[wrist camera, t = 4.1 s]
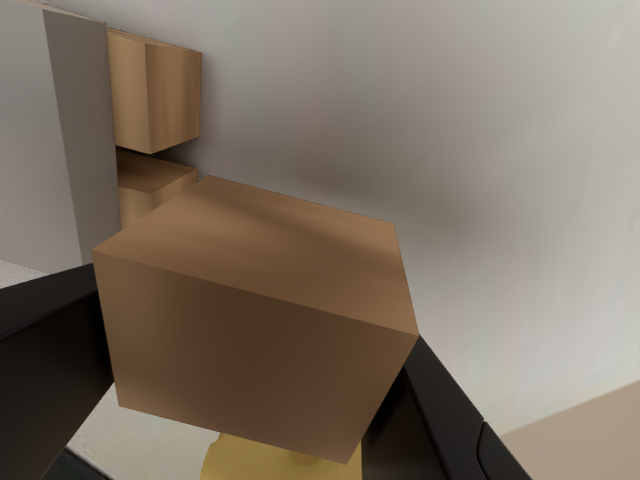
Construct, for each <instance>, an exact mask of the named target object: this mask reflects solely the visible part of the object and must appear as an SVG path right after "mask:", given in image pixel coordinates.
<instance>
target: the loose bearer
mask: <svg viewBox="0 0 640 480" xmlns="http://www.w3.org/2000/svg"><path fill="white" fill-rule="evenodd" d="M91 253H92V259H93V264H94V270H95V276H96V281H97V287H98V292H99V298H100V303H101V309H102V315H103V320H104V326H105V331H106V337H107V343H108V348H109V354H110V359H111V365H112V370H113V376H114V382H115V387H116V393H117V398H118V404H119V406H120V407H124V408H128V409H132V410H136V411H140V412H144V413H147V414H151V415H155V416H159V417H163V418H167V419H171V420H174V421H178V422H182V423H186V424H190V425H194V426H198V427H202V428H205V429H209V430H213V431H217V432H221V433H225V434H229V435H232V436H236V437H240V438H244V439H248V440H252V441H256V442H260V443H263V444H267V445H271V446H275V447H279V448H283V449H287V450H291V451H294V452H298V453H302V454H306V455H310V456H314V457H318V458H321V459H325V460H329V461H333V462H337V463H341V464H345V465H347V464H348V462H349V460H350V458H351V457H352V455H353V453H354V451H355V450H356V448H357V446H358V444H359V442H360V441H361V439H362V437H363V435H364V434H365V432H366V430H367V428H368V426H369V425H370V423H371V421H372V419H373V418H374V416H375V414H376V412H377V410H378V409H379V407H380V405H381V403H382V402H383V400H384V398H385V396H386V394H387V393H388V391H389V389H390V387H391V386H392V384H393V382H394V380H395V378H396V377H397V375H398V373H399V371H400V370H401V368H402V366H403V364H404V362H405V361H406V359H407V357H408V355H409V354H410V352H411V350H412V348H413V347H414V345H415V343H416V341H417V339H418V338H419V332H418V327H417V323H416V319H415V314H414V310H413V306H412V301H411V297H410V292H409V288H408V284H407V279H406V275H405V271H404V266H403V262H402V257H401V253H400V249H399V244H398V240H397V236H396V231H395V227H394V224H392V223H389V222H385V221H381V220H377V219H373V218H370V217H366V216H362V215H358V214H354V213H351V212H347V211H343V210H339V209H336V208H332V207H328V206H324V205H320V204H317V203H313V202H309V201H305V200H301V199H298V198H294V197H290V196H286V195H282V194H279V193H275V192H271V191H267V190H263V189H260V188H256V187H252V186H248V185H244V184H241V183H237V182H233V181H229V180H226V179H222V178H218V177H214V176H210V175H208V176H207V177H205V178H203V179H202V180H200V181H199V182H197V183H196V184H194V185H192V186H191V187H189V188H188V189H186V190H185V191H183V192H181V193H180V194H178V195H177V196H175V197H174V198H172V199H170V200H169V201H167V202H166V203H164V204H163V205H161V206H159V207H158V208H156V209H155V210H153V211H152V212H150V213H148V214H147V215H145V216H144V217H142V218H140V219H139V220H137V221H136V222H134V223H133V224H131V225H129V226H128V227H126V228H125V229H123V230H122V231H120V232H118V233H117V234H115V235H114V236H112V237H111V238H109V239H107V240H106V241H104V242H103V243H101V244H100V245H98V246H96V247H95V248H93V249H92V250H91Z"/></svg>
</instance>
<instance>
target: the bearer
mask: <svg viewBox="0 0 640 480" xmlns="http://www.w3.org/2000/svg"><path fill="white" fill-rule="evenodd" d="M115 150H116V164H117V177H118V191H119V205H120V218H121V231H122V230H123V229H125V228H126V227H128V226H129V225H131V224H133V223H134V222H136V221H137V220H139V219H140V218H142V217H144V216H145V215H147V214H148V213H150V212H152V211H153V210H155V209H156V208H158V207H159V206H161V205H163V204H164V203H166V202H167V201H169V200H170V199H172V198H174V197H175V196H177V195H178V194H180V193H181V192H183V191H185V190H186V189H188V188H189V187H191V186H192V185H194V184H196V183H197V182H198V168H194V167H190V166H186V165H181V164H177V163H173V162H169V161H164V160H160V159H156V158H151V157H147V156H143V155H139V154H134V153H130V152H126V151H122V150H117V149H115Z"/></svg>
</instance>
